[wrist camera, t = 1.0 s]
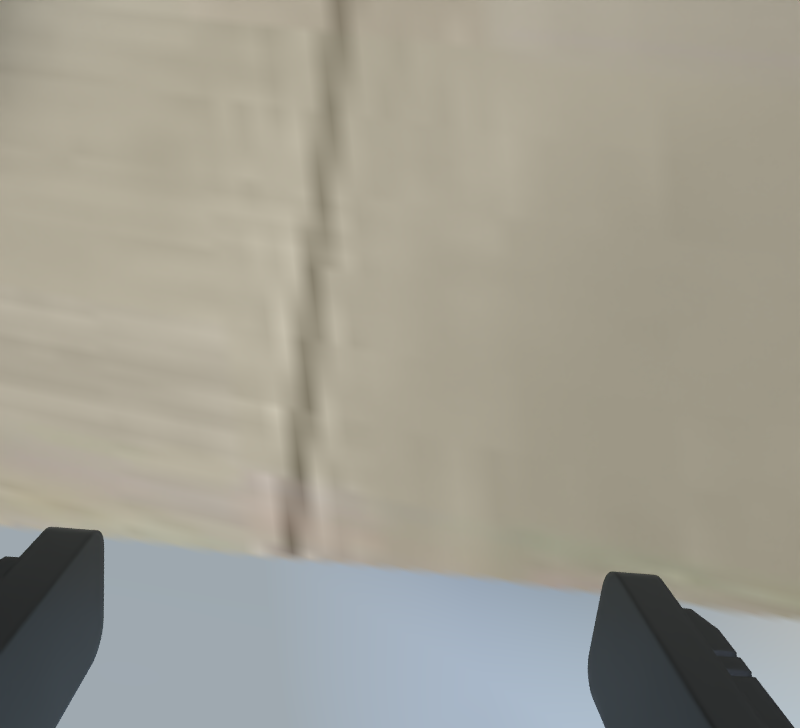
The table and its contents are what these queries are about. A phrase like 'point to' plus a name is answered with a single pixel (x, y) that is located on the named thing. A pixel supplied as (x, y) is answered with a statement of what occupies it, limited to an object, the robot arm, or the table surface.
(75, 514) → the table surface
